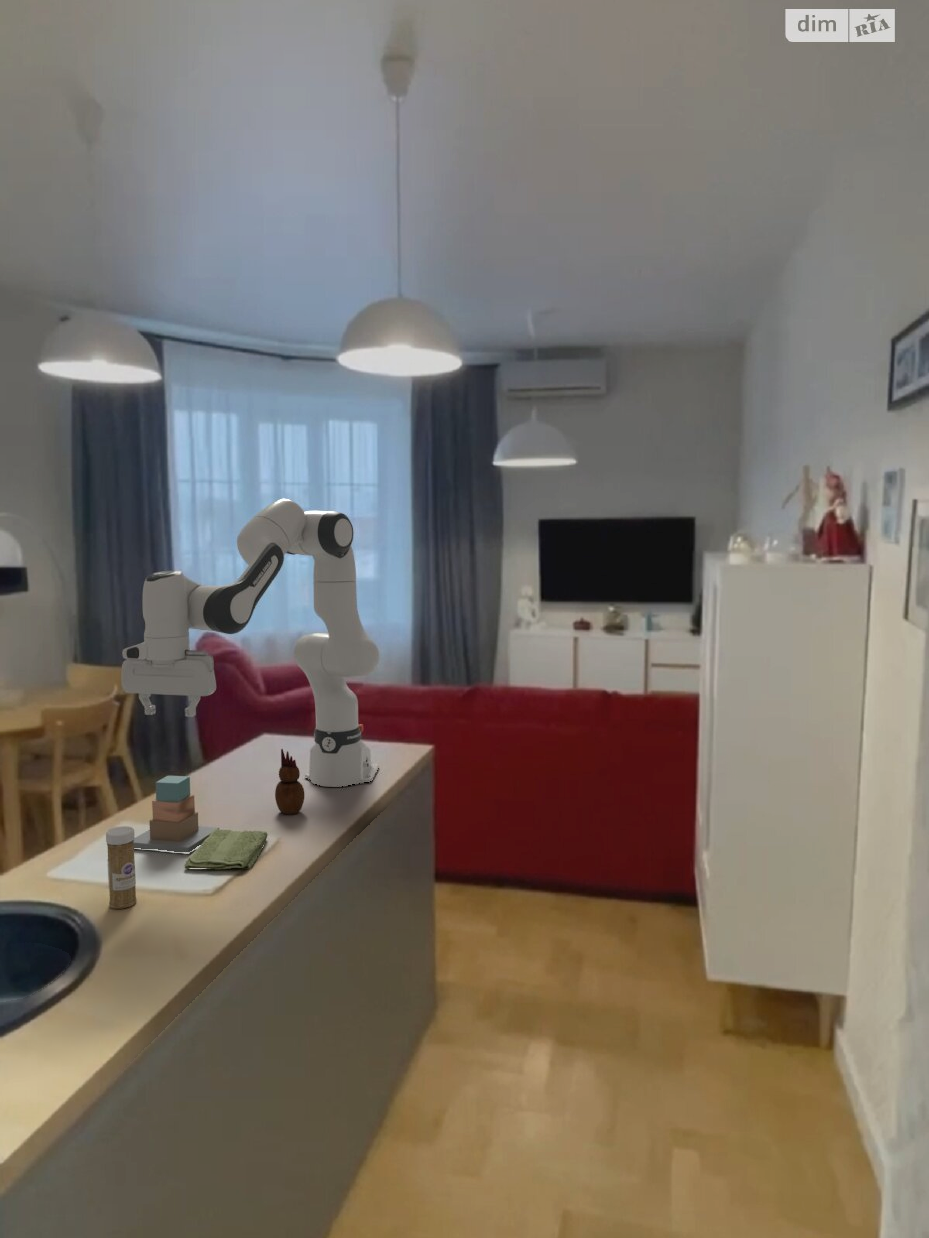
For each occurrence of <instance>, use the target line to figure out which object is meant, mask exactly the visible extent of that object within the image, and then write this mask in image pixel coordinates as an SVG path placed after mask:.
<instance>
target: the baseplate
mask: <svg viewBox="0 0 929 1238" xmlns="http://www.w3.org/2000/svg"><path fill="white" fill-rule="evenodd" d="M148 823H149V829H148V830H147V831H145V832H143V833H141V834H139V835H138V836H136V837H135V838H134V842H133V843H134V848H141V849H158V850H167V851H174V852H190V851H192V850H193V849H195V848H196V847H197V846H199V845H201V844H202V843H203V842H204V841H205V839H207V838H208V837H209V835H210V833H211V832H212V831H213V830H214V829H220V827H216V826H215V827H214V826H205V825H199V812H198V811H195V813H194V814H192V815H190V816H188V817H187V818H185V819H183V820H181V821H179V822H171V821H162V820H153V818H151V819H149V822H148Z"/></svg>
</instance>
